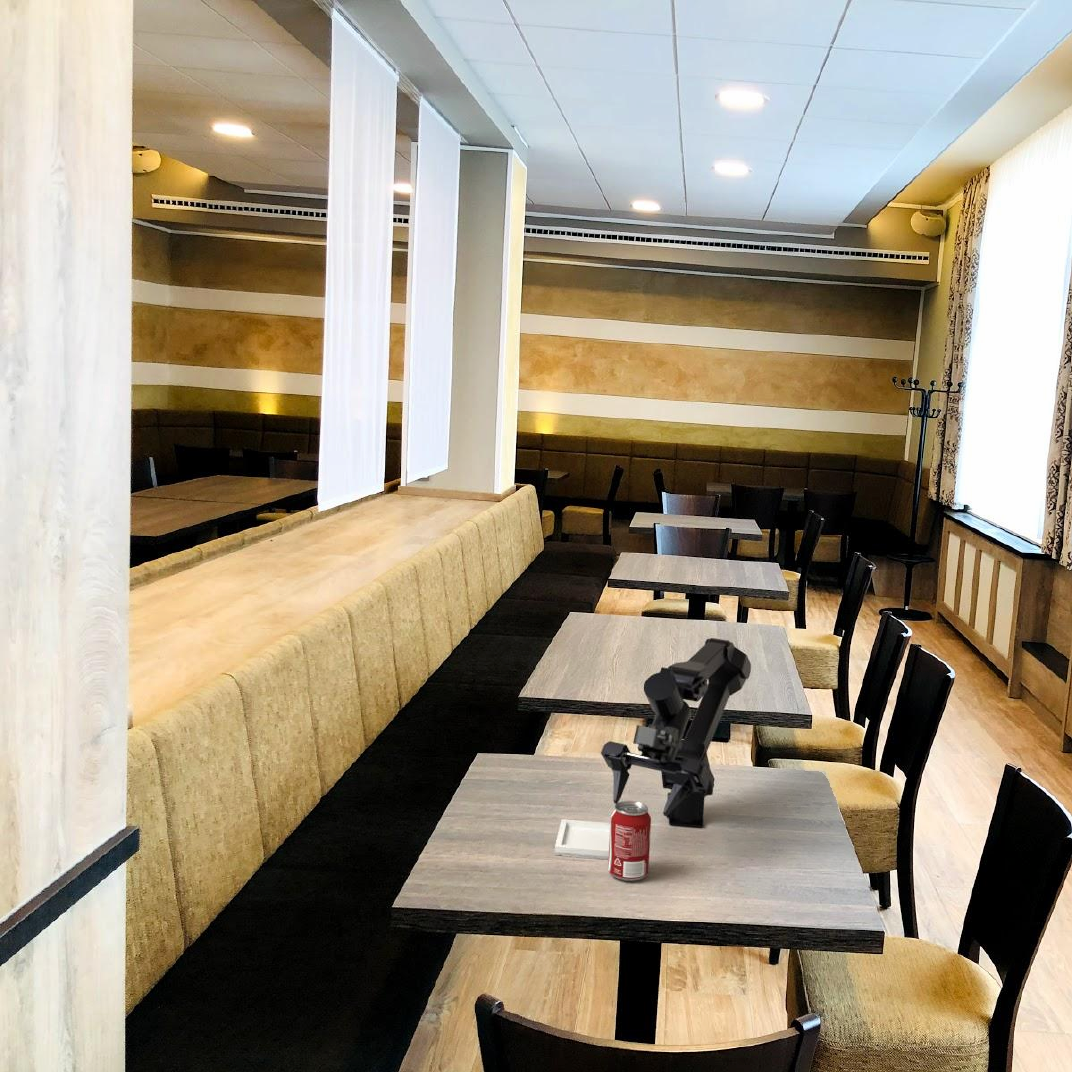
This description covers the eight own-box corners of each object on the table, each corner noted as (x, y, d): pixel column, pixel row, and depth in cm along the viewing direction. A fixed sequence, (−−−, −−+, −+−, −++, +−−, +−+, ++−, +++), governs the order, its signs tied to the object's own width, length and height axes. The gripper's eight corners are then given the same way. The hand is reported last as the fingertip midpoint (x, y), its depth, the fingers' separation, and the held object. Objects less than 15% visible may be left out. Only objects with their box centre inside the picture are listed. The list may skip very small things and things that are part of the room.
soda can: (649, 884, 183) (653, 816, 181) (608, 883, 183) (612, 814, 181) (646, 866, 190) (649, 800, 188) (607, 864, 190) (610, 798, 188)
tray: (626, 832, 203) (626, 824, 203) (623, 861, 191) (623, 852, 191) (561, 827, 205) (561, 819, 204) (554, 855, 193) (554, 846, 192)
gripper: (608, 696, 194) (576, 775, 187) (708, 716, 186) (680, 799, 178) (624, 728, 202) (595, 805, 195) (721, 748, 194) (695, 829, 186)
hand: (639, 808), depth 188 cm, fingers open, 9 cm apart
